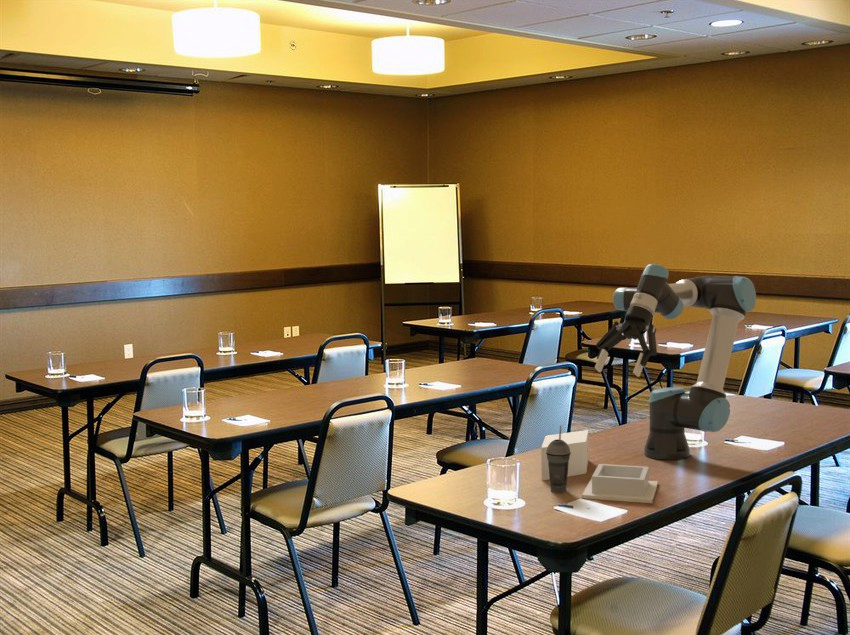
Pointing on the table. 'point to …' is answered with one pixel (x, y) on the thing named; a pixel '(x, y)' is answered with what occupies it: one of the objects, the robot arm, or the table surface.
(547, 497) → the table surface
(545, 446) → the block
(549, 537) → the table surface
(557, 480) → the beverage cup
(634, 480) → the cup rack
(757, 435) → the table surface
